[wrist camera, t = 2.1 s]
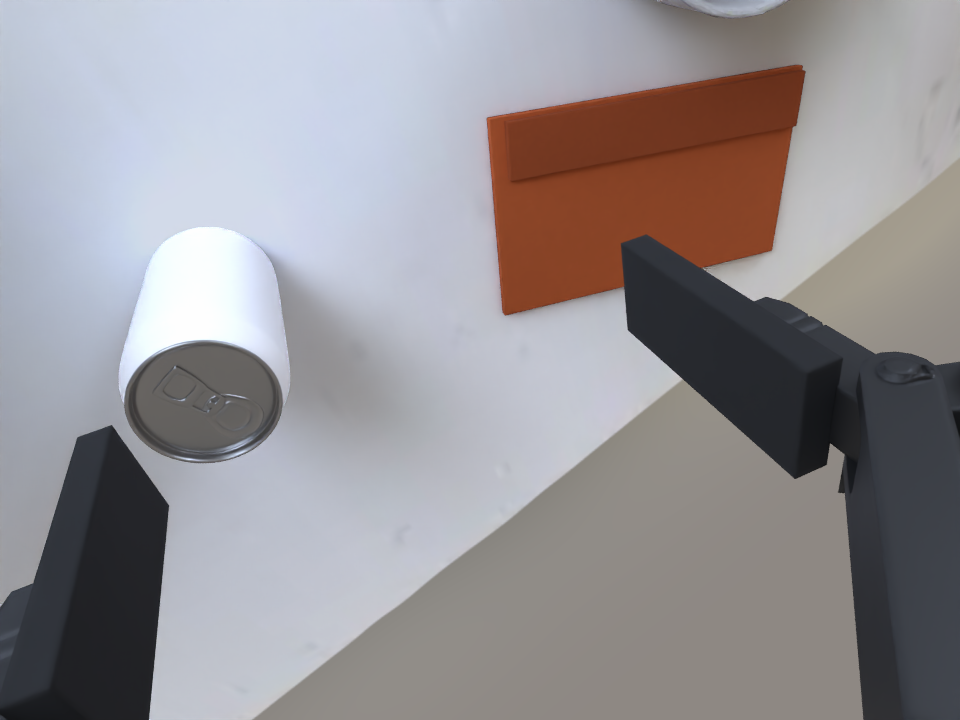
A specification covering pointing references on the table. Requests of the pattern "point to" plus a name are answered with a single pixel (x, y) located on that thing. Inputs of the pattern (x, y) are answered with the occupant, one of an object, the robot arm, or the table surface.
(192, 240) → the can
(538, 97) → the table surface
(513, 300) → the orange envelope wallet
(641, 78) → the table surface
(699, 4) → the teacup
